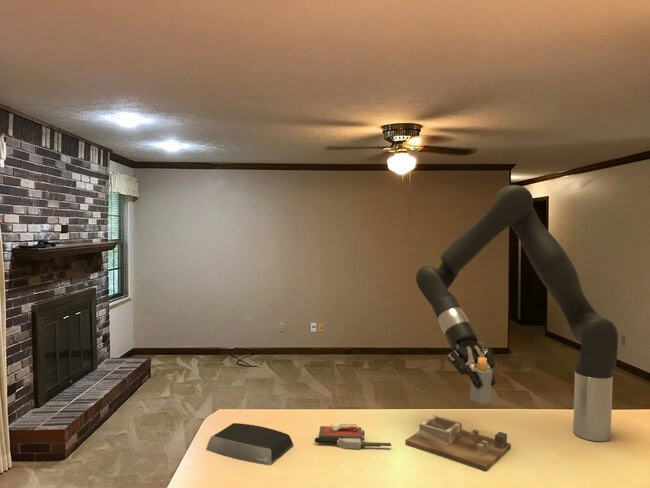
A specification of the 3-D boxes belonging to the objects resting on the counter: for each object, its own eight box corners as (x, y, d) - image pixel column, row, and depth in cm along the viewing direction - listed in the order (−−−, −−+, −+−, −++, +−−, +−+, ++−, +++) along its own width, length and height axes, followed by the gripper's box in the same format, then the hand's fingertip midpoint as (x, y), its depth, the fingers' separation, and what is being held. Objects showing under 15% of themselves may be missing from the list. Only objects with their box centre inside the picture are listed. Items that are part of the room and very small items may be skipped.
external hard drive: (269, 468, 122) (269, 452, 121) (204, 452, 130) (203, 436, 130) (295, 446, 133) (295, 431, 133) (234, 433, 142) (234, 418, 142)
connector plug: (480, 397, 132) (482, 355, 132) (490, 402, 129) (493, 359, 128) (470, 399, 131) (472, 356, 130) (479, 403, 127) (481, 360, 127)
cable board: (434, 425, 147) (434, 409, 146) (510, 448, 132) (511, 430, 132) (405, 444, 134) (405, 426, 134) (486, 471, 120) (486, 451, 120)
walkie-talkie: (313, 449, 132) (391, 452, 131) (313, 432, 131) (391, 435, 130) (316, 435, 140) (389, 437, 139) (316, 419, 140) (389, 421, 139)
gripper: (442, 322, 133) (472, 382, 122) (484, 319, 139) (516, 376, 128) (429, 337, 138) (457, 397, 127) (470, 334, 144) (499, 390, 133)
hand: (486, 386), depth 128 cm, fingers closed on connector plug, 3 cm apart
